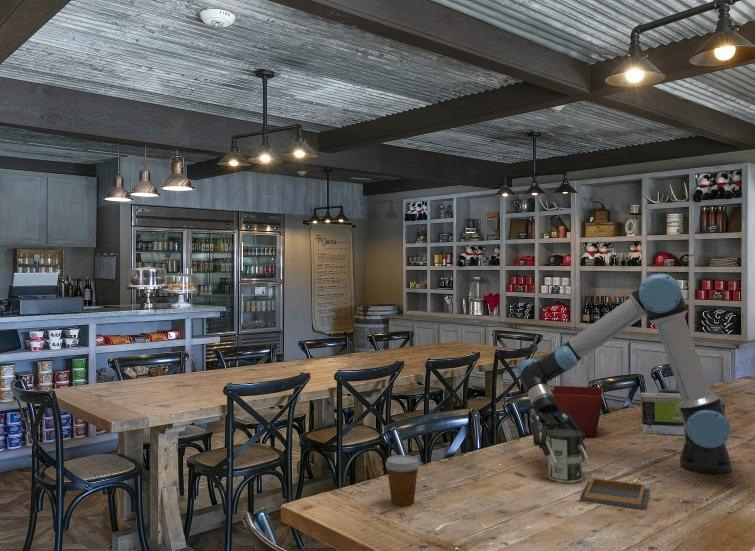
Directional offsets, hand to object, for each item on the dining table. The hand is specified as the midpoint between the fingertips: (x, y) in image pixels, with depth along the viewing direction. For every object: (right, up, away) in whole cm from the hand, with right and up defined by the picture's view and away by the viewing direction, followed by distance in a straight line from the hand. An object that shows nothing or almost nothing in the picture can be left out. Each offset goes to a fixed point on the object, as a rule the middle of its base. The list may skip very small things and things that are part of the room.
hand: (570, 462), depth 199 cm
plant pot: (+20, -5, +59) cm, 63 cm away
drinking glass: (+67, -5, +81) cm, 105 cm away
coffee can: (-1, -6, +3) cm, 6 cm away
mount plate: (+9, -6, -14) cm, 17 cm away
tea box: (+54, -5, +60) cm, 81 cm away
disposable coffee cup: (-52, -6, -17) cm, 55 cm away
